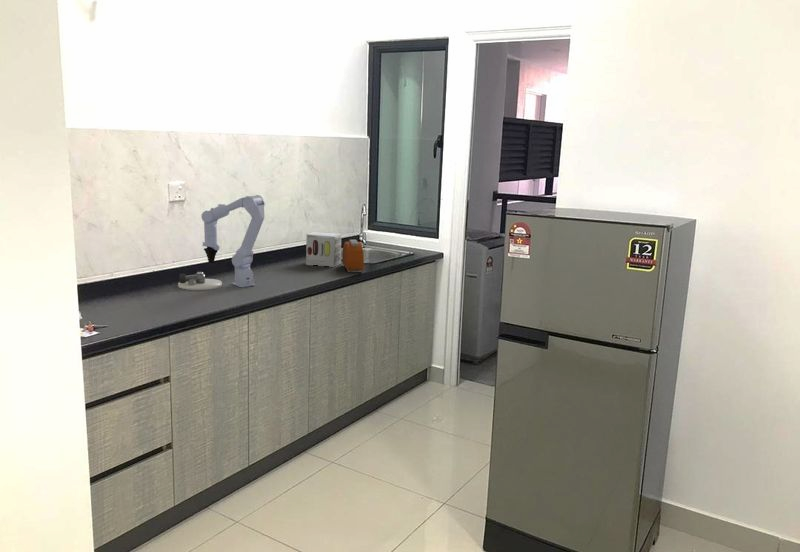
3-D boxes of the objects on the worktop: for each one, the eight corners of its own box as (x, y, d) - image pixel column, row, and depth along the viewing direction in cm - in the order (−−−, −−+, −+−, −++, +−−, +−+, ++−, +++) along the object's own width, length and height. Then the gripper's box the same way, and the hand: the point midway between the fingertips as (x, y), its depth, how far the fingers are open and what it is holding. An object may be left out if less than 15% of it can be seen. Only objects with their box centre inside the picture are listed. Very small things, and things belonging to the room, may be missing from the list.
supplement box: (305, 265, 370) (305, 234, 366) (313, 261, 382) (313, 231, 379) (334, 267, 366) (334, 236, 362) (341, 263, 379) (341, 233, 375)
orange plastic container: (363, 273, 353) (364, 243, 350) (347, 273, 351) (348, 242, 348) (357, 265, 375) (358, 236, 372) (342, 265, 373) (342, 236, 370)
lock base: (229, 287, 308) (229, 279, 307) (188, 292, 295) (188, 283, 294) (211, 279, 323) (210, 272, 322) (171, 284, 310) (171, 276, 309)
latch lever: (202, 280, 311) (202, 271, 311) (206, 282, 308) (206, 272, 307) (178, 283, 304) (177, 273, 303) (182, 285, 300) (181, 275, 300)
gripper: (196, 233, 318) (197, 260, 321) (209, 237, 307) (209, 265, 310) (210, 232, 323) (210, 259, 325) (223, 236, 312) (223, 264, 314)
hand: (211, 262), depth 318 cm, fingers closed
